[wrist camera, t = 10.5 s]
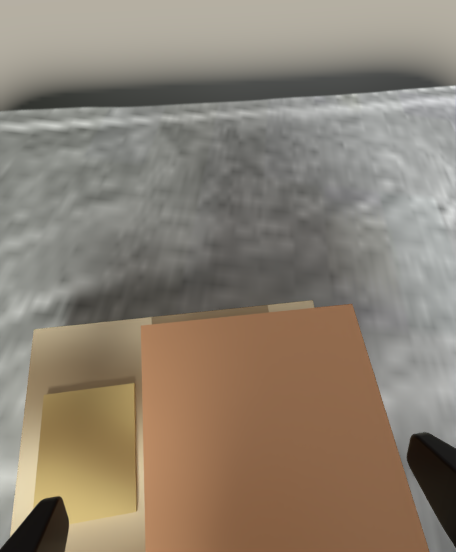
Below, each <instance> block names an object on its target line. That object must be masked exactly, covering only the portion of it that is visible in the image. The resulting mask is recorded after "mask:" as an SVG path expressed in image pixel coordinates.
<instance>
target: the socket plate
mask: <svg viewBox="0 0 456 552" xmlns="http://www.w3.org/2000/svg"><path fill="white" fill-rule="evenodd" d="M307 308H314V304H313V300H310V301H300V302H291V303H281V304H271V305H262V306H252V307H243V308H233V309H224V310H214V311H205V312H195V313H186V314H176V315H166V316H157V317H147V318H138V319H128V320H119V321H109V322H100V323H90V324H81V325H71V326H61V327H52V328H42V329H34V333H33V342H32V350H31V359H30V368H29V377H28V385H27V394H26V403H25V411H24V420H23V429H22V437H21V446H20V455H19V464H18V472H17V481H16V490H15V498H14V507H13V516H12V525H11V533H10V537H11V536H12V534H13V533H14V532H15V531H16V530H17V528H18V527H19V526H20V525H21V523H22V522H23V521H24V520H25V519H26V517H27V516H28V515H29V514H30V512H31V511H32V510H33V509H34V508H35V506H36V505H37V504H38V503H39V502H40V501H41V500H43V499H45V498H50V497H56V496H60V497H61V498H62V499H63V502H64V505H65V508H66V511H67V515H68V518H69V531H68V537H67V543H66V548H65V552H146V551H145V503H144V456H143V408H142V361H141V326H142V325H151V324H161V323H171V322H181V321H190V320H200V319H210V318H220V317H229V316H239V315H249V314H258V313H268V312H278V311H288V310H297V309H307Z"/></svg>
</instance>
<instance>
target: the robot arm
mask: <svg viewBox="0 0 456 552" xmlns="http://www.w3.org/2000/svg"><path fill="white" fill-rule="evenodd" d="M407 461H408V464H409V467H410V469H411V470H412V472H413V474H414V476H415V478H416V480H417V481H418V483H419V485H420V487H421V489H422V491H423V492H424V494H425V496H426V498H427V500H428V501H429V503H430V505H431V507H432V509H433V511H434V512H435V514H436V516H437V518H438V520H439V521H440V523H441V525H442V527H443V528H444V530H445V532H446V533H447V535H448V536H449V538H450V539H451V541H452V543H453V544H454V546H455V547H456V448H454V447H452V446H451V445H449V444H447V443H445V442H444V441H442V440H440V439H438V438H437V437H435V436H433V435H431V434H429V433H426V432H423V433H417V434H413V435H412V436H411V438H410V443H409V447H408V452H407ZM68 531H69V518H68V515H67V511H66V508H65V505H64V502H63V499H62V498H61V497H60V496H56V497H50V498H45V499H43V500H41V501H40V502H39V503H38V504H37V505H36V506H35V508H34V509H33V510H32V511H31V512H30V514H29V515H28V516H27V517H26V519H25V520H24V521H23V522H22V523H21V525H20V526H19V527H18V528H17V530H16V531H15V532H14V533H13V534H12V536H11V537H10V538H9V539H8V541H7V542H6V543H5V544H4V545H3V547H2V548H1V549H0V552H65V548H66V543H67V537H68Z"/></svg>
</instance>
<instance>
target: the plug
mask: <svg viewBox="0 0 456 552" xmlns="http://www.w3.org/2000/svg"><path fill="white" fill-rule="evenodd" d="M141 361H142V408H143V456H144V503H145V551H146V552H429V549H428V545H427V542H426V539H425V536H424V533H423V529H422V526H421V523H420V520H419V517H418V513H417V510H416V507H415V504H414V501H413V497H412V494H411V491H410V488H409V485H408V481H407V478H406V475H405V472H404V468H403V465H402V462H401V459H400V456H399V452H398V449H397V446H396V443H395V440H394V436H393V433H392V430H391V427H390V424H389V420H388V417H387V414H386V411H385V408H384V404H383V401H382V398H381V395H380V391H379V388H378V385H377V382H376V379H375V375H374V372H373V369H372V366H371V363H370V359H369V356H368V353H367V350H366V347H365V343H364V340H363V337H362V334H361V331H360V327H359V324H358V321H357V318H356V315H355V311H354V308H353V305H352V304H346V305H336V306H327V307H317V308H307V309H297V310H288V311H278V312H268V313H258V314H249V315H239V316H229V317H220V318H210V319H200V320H190V321H181V322H171V323H161V324H151V325H142V326H141Z"/></svg>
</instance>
